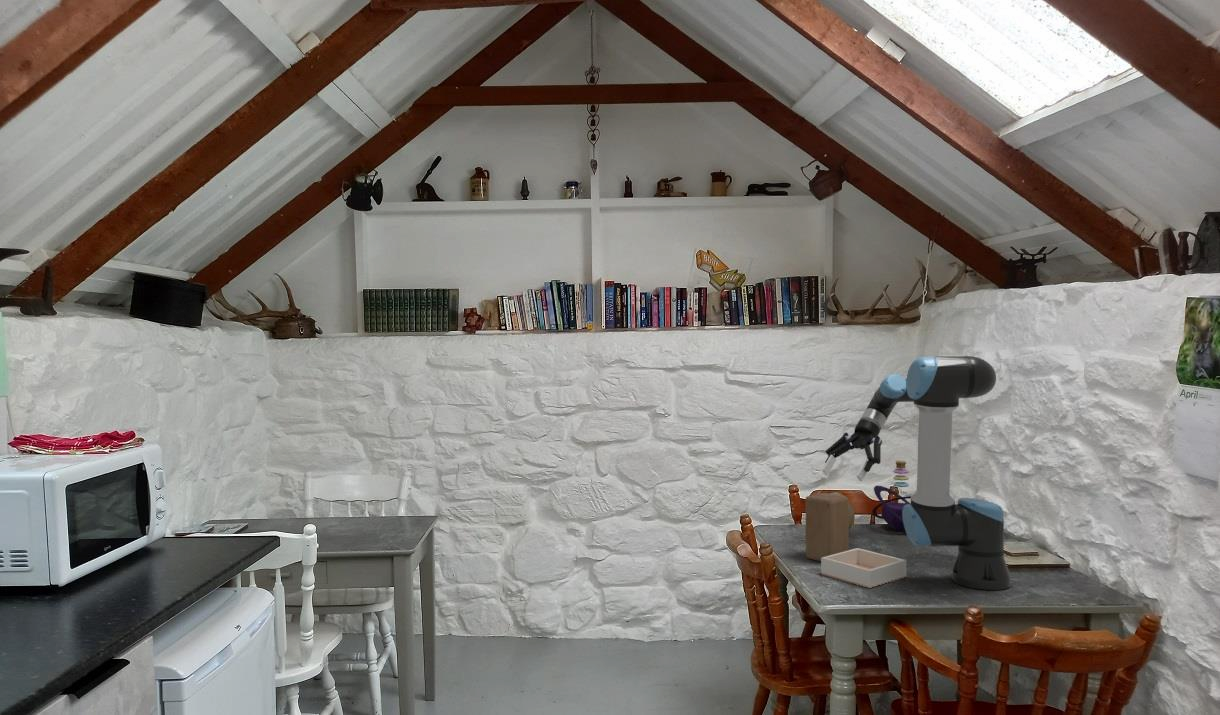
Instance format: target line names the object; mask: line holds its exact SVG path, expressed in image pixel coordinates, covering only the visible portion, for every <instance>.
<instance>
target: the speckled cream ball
mask: <svg viewBox="0 0 1220 715" xmlns="http://www.w3.org/2000/svg"><path fill="white" fill-rule="evenodd" d="M829 494H835V495H841V496H845V495H844V494H842V493H840V492H837V491H835V492H830V493H829ZM848 518H849V530H851V528H852V526H853V525H854V523H855V518H856V517H855V510H854V507H853V505H852V503H851V501H850V500H849V499H848Z"/></svg>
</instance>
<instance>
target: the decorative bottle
mask: <svg viewBox="0 0 1220 715" xmlns="http://www.w3.org/2000/svg"><path fill="white" fill-rule="evenodd" d="M906 464H907V462H906V460H899V459H898V460H896V461H895V465H896V466H895V469H893V471H892V472H893V473H894V474H896V475H895V476H893V480H894V481H896V482H894V483H893V486H894V487H897V488H906V487H907V488H908V487H909V486H910V485H909V484H908V482H905V481H908V480H909V479H910V478H909V477H908V476H907V475H906V474H909V473H910V471H909V470H908V469H906ZM897 474H899V475H897ZM904 474H905V475H904ZM873 491H874V494H875V496H876V498H877V500H878V501H879V502H880V503H879V504H877V505H876V506H874V508H873V509H872V512H871V514H872V516H874V517H875V518H878V519H882V520H884V521H885V523H886V524H887V525H888V526H889V527H890V528H891V529H893V530H894V531H896V532H902V531H901V530H904V531H903V532H906V531H905V528H904V524H903V517H902V511H903V507H904V506H905V505H907V504H911V502H909V501H908V500H907V499H911V496H912V495H907V496H901V495H900V494H898V493H897V492H895V491H894V490H892V489H890V488H888V487H886V486H882V485H875V486H874V487H873ZM881 492H887V493H890V495H891V494H892V495H894V496H895V498H891V499H887V500H886V501H885V500H884V499H883V497H882V495H881ZM898 500H901V501H902V502H894V501H898ZM880 507H881V515H879V514H877V510H878V509H879V508H880Z"/></svg>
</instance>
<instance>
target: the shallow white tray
mask: <svg viewBox="0 0 1220 715" xmlns="http://www.w3.org/2000/svg"><path fill="white" fill-rule="evenodd" d="M820 564H821V566H820V567H821V569H820V572H821V575H822V576H825V577H829V578H833V579H836V580H838V579H839V581H842V582H846V583H850V584H852V583H854V584H853V585H855V584H856V585H855V586H859V585H860V586H859V587H862V586H863V587H862V588H865V587H868V588H867V589H869V588H872V587H875V586H878V585H881V586H883V585H882V584H884V585H886V584H885V583H887V584H889V583H888V582H890V583H892V582H891V581H893V582H896V581H895V580H897V579H900V580H902V579H901V578H903V579H905V578H904V577H906V578H907V560H906V559H903V558H900V557H899V558H898V557H895V556H892V555H887V554H883V553H880V552H879V553H878V552H875V551H871V550H868V549H862V548H859V547H857V548H853V549H849V550H848V551H844V552H841V553H837V554H833V555H829V556H826V557H822V558H821V561H820ZM897 581H898V580H897ZM878 587H879V586H878ZM875 588H876V587H875ZM872 589H873V588H872Z"/></svg>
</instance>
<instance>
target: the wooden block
mask: <svg viewBox="0 0 1220 715" xmlns="http://www.w3.org/2000/svg"><path fill="white" fill-rule="evenodd" d="M804 500H805V557H806V558H807V559H810V560H814V561H817V562H821V558H822V557H826V556H829V555H833V554H837V553H841V552H844V551H848V550H850V547H849V546H850V545H849V544H850V543H849V541H850V540H849V539H850V535H849V534H850V533H849V531H850V529H849V518H848V500H849V498H848V497H847V496H845V495H844V496H841V495H835V494H830V493H829V492H828V493H827V492H821V493H816V494H812V495H808V496H806V497H805V499H804Z"/></svg>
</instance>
